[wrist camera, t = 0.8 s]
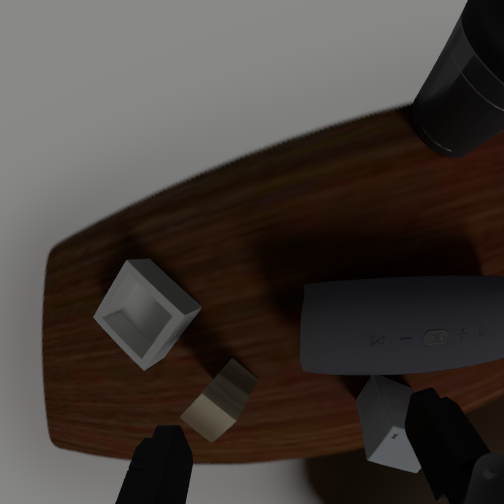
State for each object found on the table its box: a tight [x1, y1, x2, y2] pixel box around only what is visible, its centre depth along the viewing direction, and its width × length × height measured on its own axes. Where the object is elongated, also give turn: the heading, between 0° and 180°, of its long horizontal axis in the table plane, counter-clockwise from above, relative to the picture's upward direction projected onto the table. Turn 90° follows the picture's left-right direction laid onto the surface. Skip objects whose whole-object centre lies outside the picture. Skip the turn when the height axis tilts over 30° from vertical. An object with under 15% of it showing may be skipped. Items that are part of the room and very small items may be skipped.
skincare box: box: [356, 375, 421, 473], centre depth 26 cm, size 6×4×12 cm
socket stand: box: [93, 259, 202, 370], centre depth 35 cm, size 9×9×5 cm
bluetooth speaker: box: [300, 275, 504, 375], centre depth 26 cm, size 23×9×10 cm, turn 91°
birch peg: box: [180, 358, 258, 443], centre depth 30 cm, size 4×4×10 cm
